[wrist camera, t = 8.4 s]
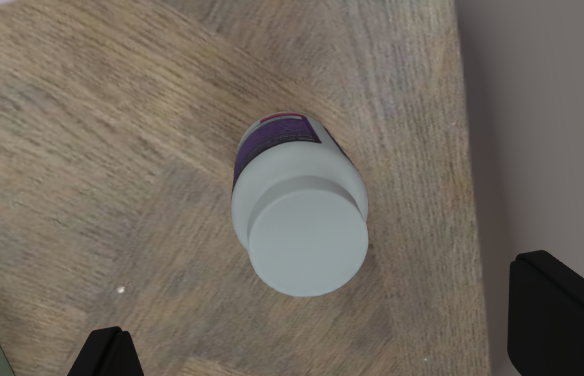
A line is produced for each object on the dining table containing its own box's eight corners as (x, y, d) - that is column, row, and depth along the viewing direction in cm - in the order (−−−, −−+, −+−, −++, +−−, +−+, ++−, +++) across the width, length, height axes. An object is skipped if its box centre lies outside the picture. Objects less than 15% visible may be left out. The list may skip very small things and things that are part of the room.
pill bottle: (219, 182, 23) (198, 283, 14) (262, 91, 22) (270, 137, 12) (307, 220, 24) (341, 335, 15) (354, 137, 23) (422, 208, 14)
